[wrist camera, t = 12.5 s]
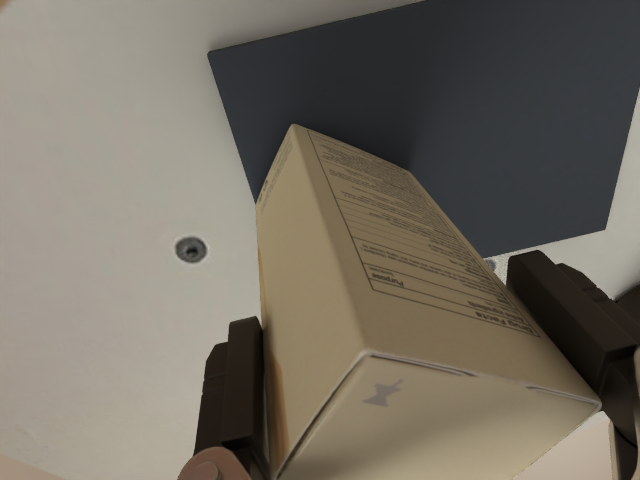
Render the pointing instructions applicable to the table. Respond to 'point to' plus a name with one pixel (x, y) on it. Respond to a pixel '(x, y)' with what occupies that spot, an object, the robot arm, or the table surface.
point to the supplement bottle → (631, 304)
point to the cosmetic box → (394, 332)
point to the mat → (458, 106)
